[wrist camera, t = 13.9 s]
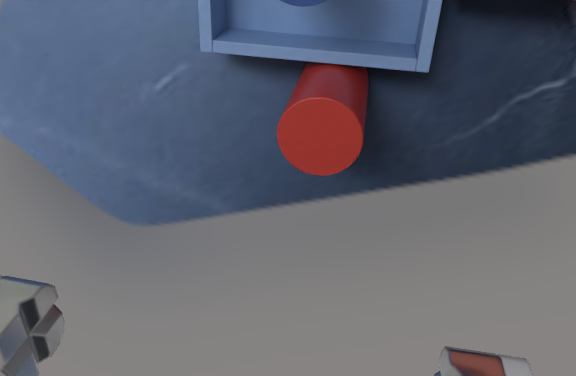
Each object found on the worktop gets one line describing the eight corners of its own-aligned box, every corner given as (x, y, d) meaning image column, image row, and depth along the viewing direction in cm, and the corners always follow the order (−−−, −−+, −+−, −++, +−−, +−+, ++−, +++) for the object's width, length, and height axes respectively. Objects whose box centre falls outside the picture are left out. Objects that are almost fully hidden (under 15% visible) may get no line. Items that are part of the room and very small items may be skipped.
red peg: (373, 51, 25) (368, 101, 19) (364, 117, 27) (358, 180, 21) (303, 45, 26) (277, 92, 20) (299, 110, 28) (275, 171, 22)
